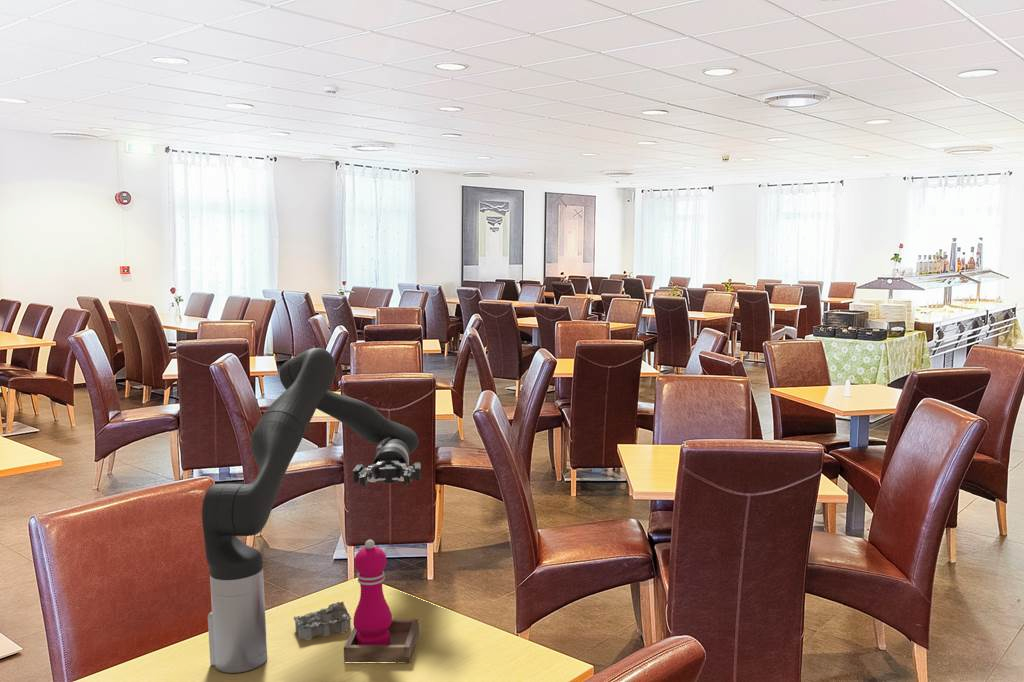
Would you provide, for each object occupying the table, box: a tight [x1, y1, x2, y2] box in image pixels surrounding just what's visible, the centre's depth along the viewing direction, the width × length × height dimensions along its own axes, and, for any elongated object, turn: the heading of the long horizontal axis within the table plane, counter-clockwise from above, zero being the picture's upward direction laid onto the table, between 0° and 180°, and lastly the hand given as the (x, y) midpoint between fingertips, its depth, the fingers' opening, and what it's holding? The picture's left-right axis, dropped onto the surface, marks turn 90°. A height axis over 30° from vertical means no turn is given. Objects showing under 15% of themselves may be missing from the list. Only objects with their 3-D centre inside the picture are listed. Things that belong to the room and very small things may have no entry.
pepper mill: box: [352, 539, 393, 645], centre depth 159 cm, size 7×7×20 cm
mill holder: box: [343, 618, 420, 664], centre depth 160 cm, size 12×12×3 cm
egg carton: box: [293, 601, 352, 641], centre depth 169 cm, size 11×8×4 cm
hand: (384, 481), depth 174 cm, fingers open, 8 cm apart
